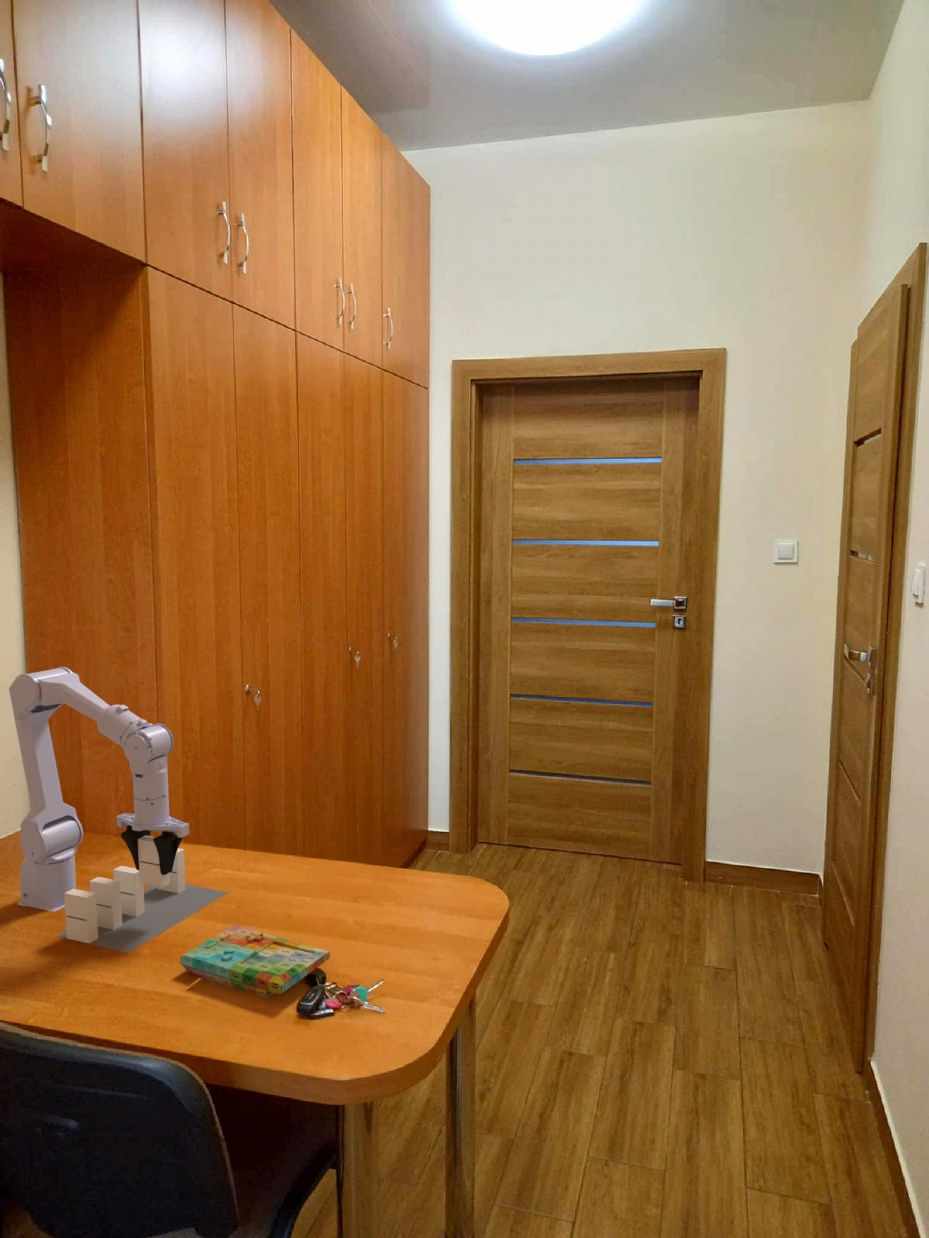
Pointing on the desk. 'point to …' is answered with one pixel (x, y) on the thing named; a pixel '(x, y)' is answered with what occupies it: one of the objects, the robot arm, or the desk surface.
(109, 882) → the domino
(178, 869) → the domino
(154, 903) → the mat
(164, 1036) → the desk surface
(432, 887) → the desk surface
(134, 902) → the domino
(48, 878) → the robot arm
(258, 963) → the puzzle game
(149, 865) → the domino
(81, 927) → the domino
